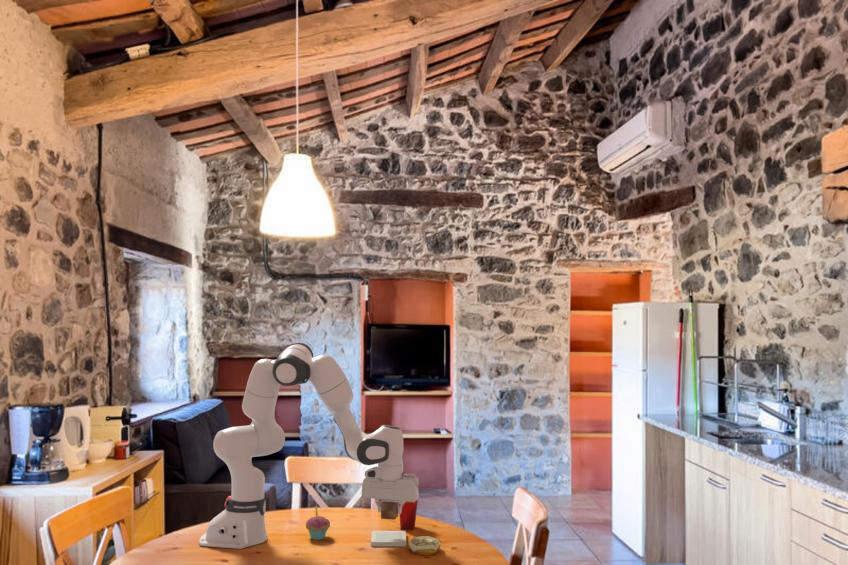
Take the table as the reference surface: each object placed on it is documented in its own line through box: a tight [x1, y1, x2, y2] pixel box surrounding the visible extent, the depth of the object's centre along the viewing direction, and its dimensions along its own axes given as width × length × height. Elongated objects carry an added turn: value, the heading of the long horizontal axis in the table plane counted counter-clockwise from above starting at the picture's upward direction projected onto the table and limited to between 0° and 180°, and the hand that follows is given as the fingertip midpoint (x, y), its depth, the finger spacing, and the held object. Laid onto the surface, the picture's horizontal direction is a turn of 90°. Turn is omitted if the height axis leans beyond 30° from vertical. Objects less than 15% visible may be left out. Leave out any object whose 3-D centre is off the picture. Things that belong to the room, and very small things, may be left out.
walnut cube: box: [380, 499, 399, 521], centre depth 229 cm, size 5×5×5 cm
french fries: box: [398, 498, 419, 531], centre depth 243 cm, size 9×8×15 cm
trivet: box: [370, 530, 407, 547], centre depth 228 cm, size 12×12×2 cm
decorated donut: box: [408, 535, 441, 557], centre depth 219 cm, size 10×11×4 cm
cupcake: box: [305, 504, 331, 541], centre depth 230 cm, size 9×8×12 cm
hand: (389, 512), depth 229 cm, fingers closed on walnut cube, 5 cm apart
